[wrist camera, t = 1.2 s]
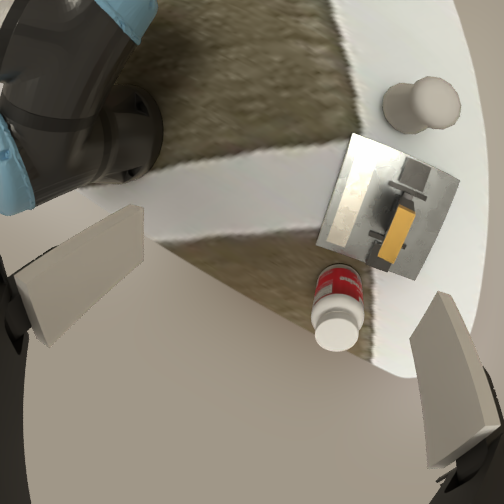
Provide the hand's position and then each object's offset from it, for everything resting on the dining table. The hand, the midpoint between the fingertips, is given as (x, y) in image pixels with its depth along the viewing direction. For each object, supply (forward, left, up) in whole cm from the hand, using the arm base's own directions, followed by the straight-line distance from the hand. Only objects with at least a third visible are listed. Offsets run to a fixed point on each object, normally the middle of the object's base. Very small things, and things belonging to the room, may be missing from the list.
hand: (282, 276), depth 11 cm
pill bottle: (+7, -13, -25) cm, 29 cm away
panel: (+9, -1, -24) cm, 26 cm away
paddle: (+10, -1, -21) cm, 24 cm away
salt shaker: (+7, +11, -25) cm, 28 cm away
